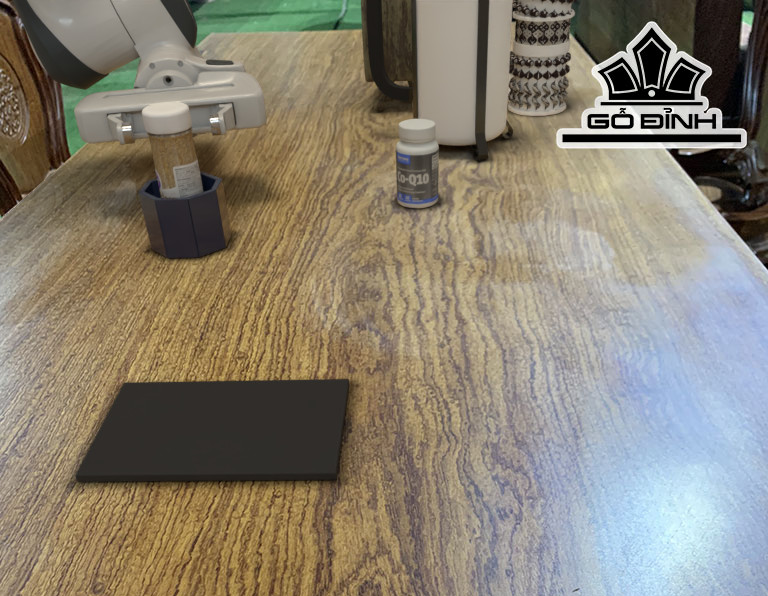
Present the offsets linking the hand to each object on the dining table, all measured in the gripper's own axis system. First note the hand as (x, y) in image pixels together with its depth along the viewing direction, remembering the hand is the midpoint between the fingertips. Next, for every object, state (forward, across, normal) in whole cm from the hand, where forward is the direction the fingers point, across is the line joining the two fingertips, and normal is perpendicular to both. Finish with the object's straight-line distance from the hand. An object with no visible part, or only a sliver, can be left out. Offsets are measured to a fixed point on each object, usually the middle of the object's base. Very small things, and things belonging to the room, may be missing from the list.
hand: (172, 131), depth 85 cm
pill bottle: (0, +26, +10) cm, 28 cm away
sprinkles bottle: (+5, 0, +10) cm, 11 cm away
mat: (+41, +2, +10) cm, 42 cm away
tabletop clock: (-41, +32, +10) cm, 53 cm away
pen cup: (+5, 0, +10) cm, 11 cm away
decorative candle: (-31, +50, +10) cm, 60 cm away
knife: (-59, +55, +10) cm, 81 cm away
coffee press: (-18, +34, +10) cm, 40 cm away
